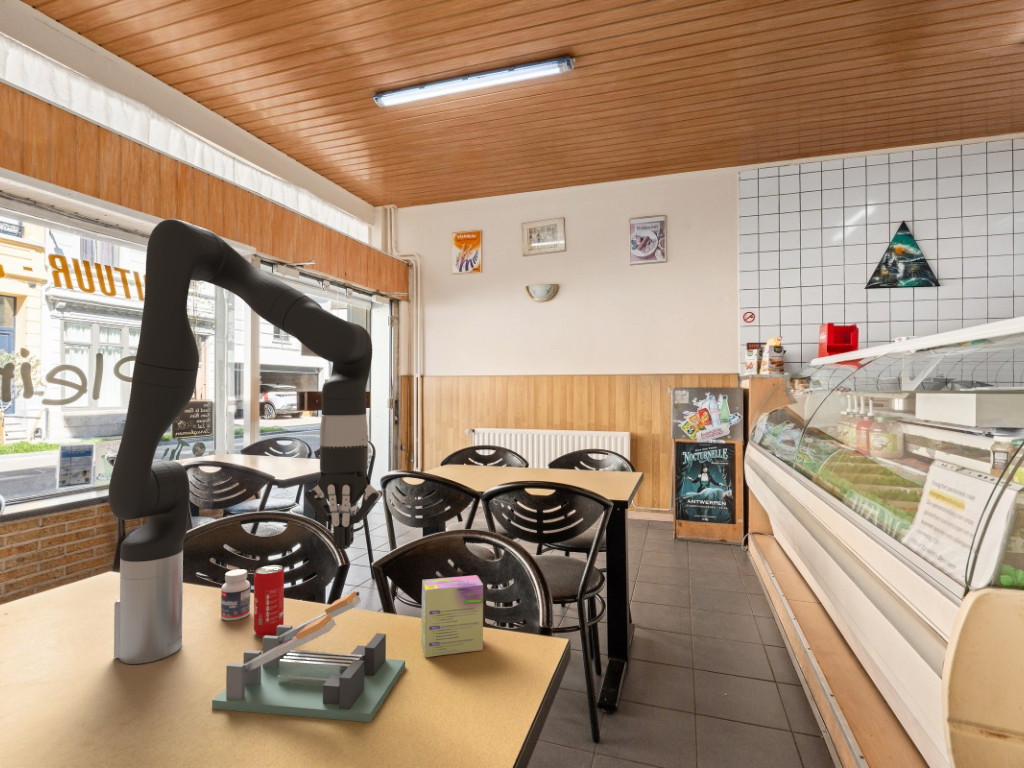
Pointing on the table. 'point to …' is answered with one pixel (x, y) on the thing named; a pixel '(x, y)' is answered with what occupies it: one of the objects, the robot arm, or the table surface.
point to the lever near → (293, 642)
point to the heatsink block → (313, 667)
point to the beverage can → (268, 600)
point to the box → (452, 615)
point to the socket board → (337, 699)
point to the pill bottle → (235, 595)
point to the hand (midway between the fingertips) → (343, 547)
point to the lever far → (333, 610)
